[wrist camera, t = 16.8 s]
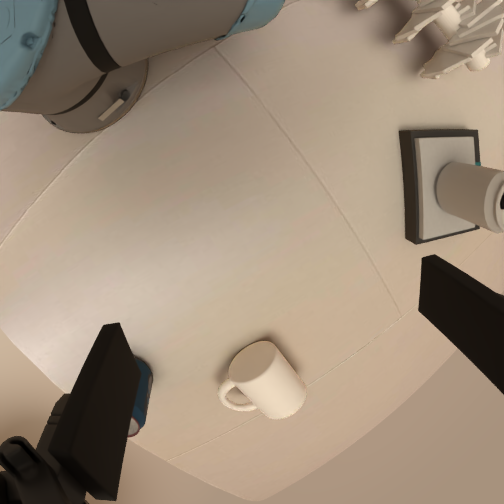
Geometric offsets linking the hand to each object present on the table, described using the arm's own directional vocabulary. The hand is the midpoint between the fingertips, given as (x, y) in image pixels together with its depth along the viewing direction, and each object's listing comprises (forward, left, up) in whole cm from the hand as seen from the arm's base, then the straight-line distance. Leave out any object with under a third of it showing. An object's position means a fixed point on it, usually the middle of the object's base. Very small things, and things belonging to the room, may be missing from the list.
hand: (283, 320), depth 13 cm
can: (+2, +30, -25) cm, 39 cm away
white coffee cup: (+27, -2, -29) cm, 40 cm away
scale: (+2, +31, -29) cm, 42 cm away
